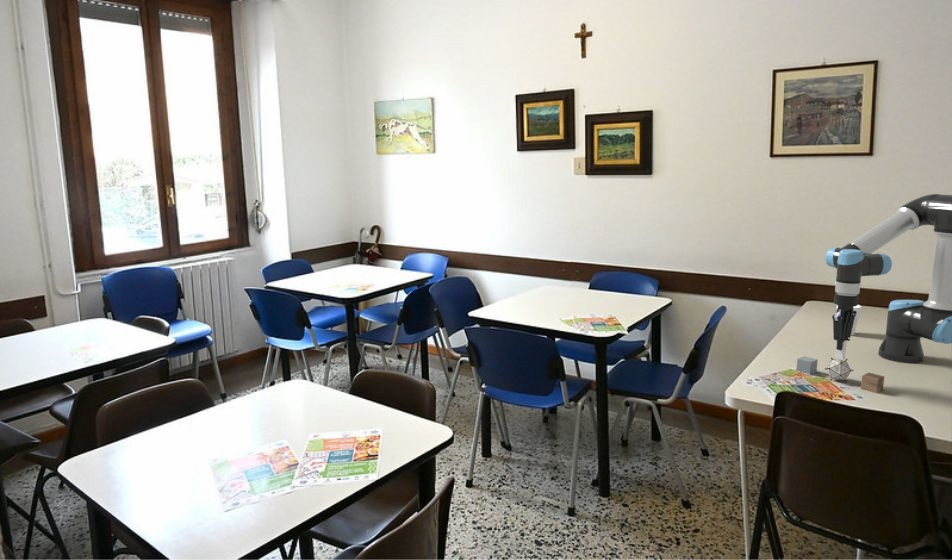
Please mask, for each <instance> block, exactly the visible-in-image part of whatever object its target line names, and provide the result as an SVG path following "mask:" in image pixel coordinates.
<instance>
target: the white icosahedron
mask: <svg viewBox="0 0 952 560" xmlns="http://www.w3.org/2000/svg"><path fill="white" fill-rule="evenodd" d="M824 370H825V371H826V370H827V371H826V372H827V373H828V374H829V376H830V380H831V381H833V380H839V381H840V380H841V381H845V383H847V382H848V380H847V379H848V378H849V376H850V374H851V372H854V369H851V367H850V365H849V363H848V358H845V359H837V358H836V359H833V357H830V362H829V364H828V366H827V367H825V368H824Z"/></svg>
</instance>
